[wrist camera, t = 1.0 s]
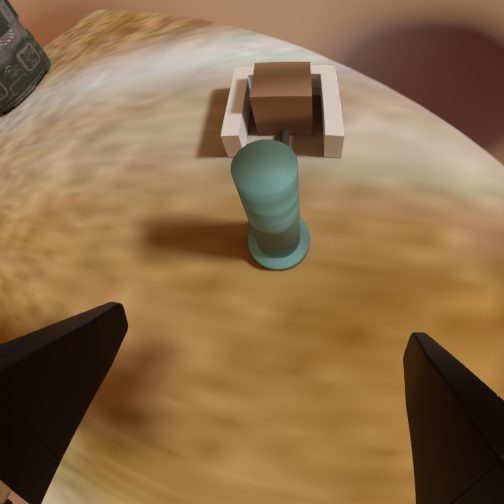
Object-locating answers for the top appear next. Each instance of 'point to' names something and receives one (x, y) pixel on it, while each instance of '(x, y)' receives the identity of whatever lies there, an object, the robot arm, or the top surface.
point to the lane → (321, 85)
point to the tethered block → (275, 164)
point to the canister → (18, 59)
